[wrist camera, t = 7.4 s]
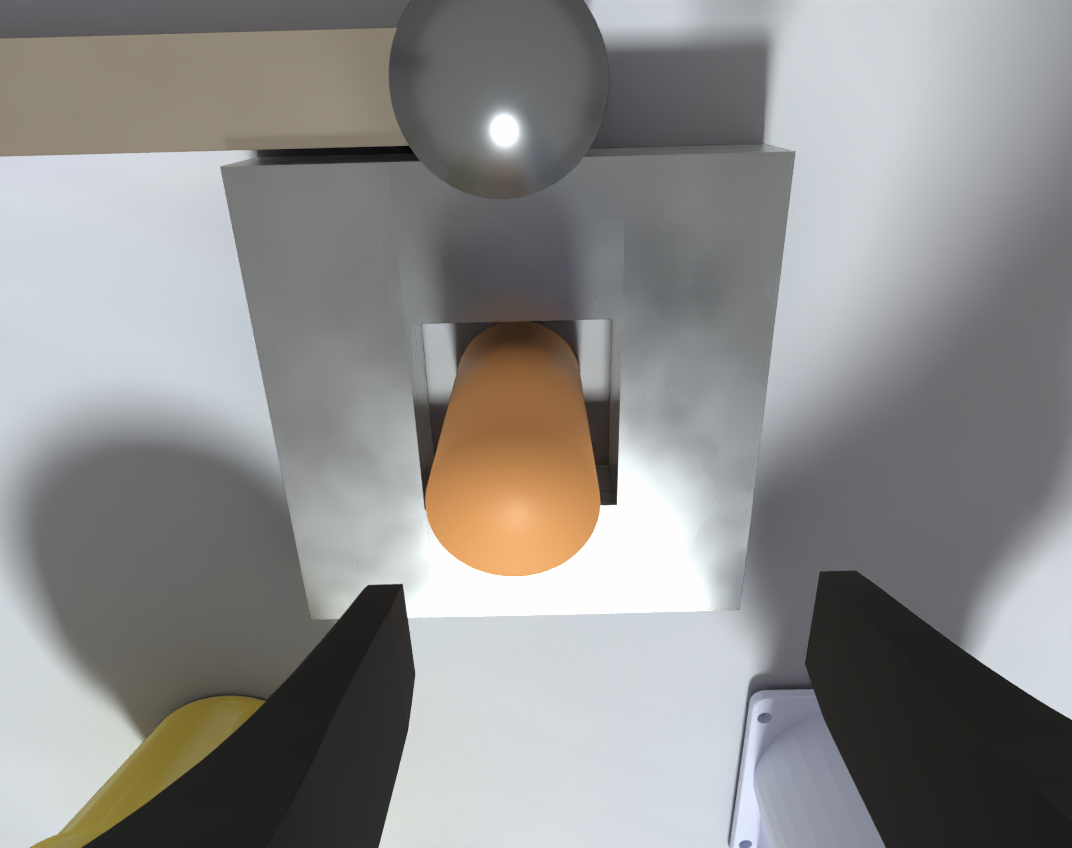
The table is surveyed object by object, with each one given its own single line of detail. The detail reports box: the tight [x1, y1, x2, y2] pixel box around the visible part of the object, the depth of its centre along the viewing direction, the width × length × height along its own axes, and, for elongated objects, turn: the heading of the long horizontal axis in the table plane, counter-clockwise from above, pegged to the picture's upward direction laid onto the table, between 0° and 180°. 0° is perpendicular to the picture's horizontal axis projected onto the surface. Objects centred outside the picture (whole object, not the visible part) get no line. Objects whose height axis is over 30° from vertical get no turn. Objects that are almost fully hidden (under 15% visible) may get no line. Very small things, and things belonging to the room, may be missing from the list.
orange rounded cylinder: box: [425, 321, 601, 577], centre depth 18 cm, size 4×4×7 cm
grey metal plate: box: [0, 0, 795, 620], centre depth 18 cm, size 16×20×5 cm
